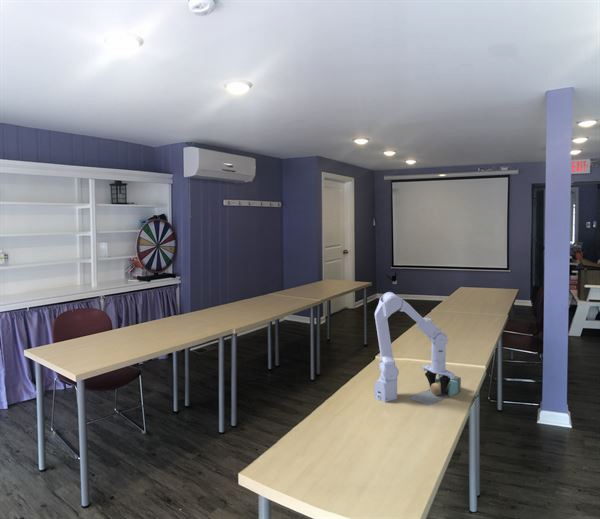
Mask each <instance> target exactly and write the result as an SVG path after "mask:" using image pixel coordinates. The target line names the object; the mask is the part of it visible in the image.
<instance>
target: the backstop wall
mask: <svg viewBox="0 0 600 519" xmlns="http://www.w3.org/2000/svg"><path fill="white" fill-rule="evenodd" d="M437 375H438V377H441V376H442V375H439V374H437ZM438 377H437V378H438ZM442 377H443V376H442ZM451 380H455V381H458V393H460V392H461V388H462V387H461V386H462V383H461V382H462V377H460V376H456V375H455V378H454V379H451Z"/></svg>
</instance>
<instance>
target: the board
mask: <svg viewBox="0 0 600 519" xmlns="http://www.w3.org/2000/svg"><path fill="white" fill-rule="evenodd" d="M449 397H450V396H449V395H448V391H446V392H445V393H443V394H442V393H441V394H439V395H434V394H433V393H432V392H431V389H430V388H429V389H427V390H425V391H422V392H420V393H416V394H414V395H412V396H409V397H408V399H410V400H413V401H414V402H417V403H420V404H423V405H425V406H430V405H433V404H435V403H437V402H439V401H441V400H445V399H446V398H449Z"/></svg>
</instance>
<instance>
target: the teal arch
mask: <svg viewBox="0 0 600 519" xmlns="http://www.w3.org/2000/svg"><path fill="white" fill-rule="evenodd" d="M441 377H442V376H441ZM438 381H440V379H439V377H436V380H435V383H436V382H438ZM450 382H451V383H449V386H448V392H447V393H448V394H447V395H449V397H452V396H453V395H457V394H458V393H459V392H458V381H455V380H450Z"/></svg>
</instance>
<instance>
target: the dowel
mask: <svg viewBox="0 0 600 519" xmlns="http://www.w3.org/2000/svg"><path fill="white" fill-rule="evenodd" d="M449 383H451V382H450V381H449ZM449 383H448V386H449ZM448 386H447V389H446V391H448ZM429 389H431V392H432V393H433V395H439V394H441V383H440V381H438V382H436V383H433V384H432V385H431V386H430V385H429Z"/></svg>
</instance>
